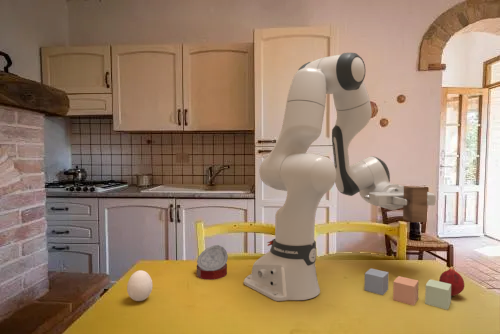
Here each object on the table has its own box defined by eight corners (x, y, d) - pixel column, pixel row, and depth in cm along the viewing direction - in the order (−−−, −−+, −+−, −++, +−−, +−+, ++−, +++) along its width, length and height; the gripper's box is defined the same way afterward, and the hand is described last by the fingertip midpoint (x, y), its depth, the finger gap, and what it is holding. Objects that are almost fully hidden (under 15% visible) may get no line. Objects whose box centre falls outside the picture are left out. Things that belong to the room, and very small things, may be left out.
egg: (138, 308, 79) (137, 277, 79) (122, 302, 82) (121, 272, 82) (157, 298, 84) (157, 269, 84) (141, 292, 88) (141, 265, 87)
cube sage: (425, 304, 81) (425, 285, 81) (429, 297, 85) (429, 279, 85) (447, 310, 78) (448, 290, 78) (450, 302, 82) (451, 284, 82)
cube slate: (364, 290, 89) (364, 273, 89) (370, 284, 93) (370, 268, 93) (382, 295, 86) (383, 277, 86) (388, 289, 90) (388, 272, 90)
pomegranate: (468, 301, 82) (469, 271, 82) (444, 299, 83) (444, 270, 83) (458, 292, 88) (458, 264, 87) (435, 290, 89) (436, 262, 89)
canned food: (227, 286, 103) (239, 263, 100) (201, 292, 96) (213, 267, 93) (211, 262, 111) (221, 240, 107) (186, 266, 104) (196, 242, 101)
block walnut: (402, 219, 95) (403, 186, 95) (416, 218, 96) (417, 186, 95) (412, 222, 91) (413, 187, 90) (426, 221, 91) (427, 187, 91)
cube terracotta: (393, 300, 83) (393, 281, 83) (398, 293, 87) (398, 276, 87) (413, 305, 80) (414, 286, 80) (418, 298, 84) (418, 280, 84)
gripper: (361, 187, 105) (384, 191, 91) (418, 186, 107) (448, 191, 93) (361, 205, 105) (383, 213, 91) (418, 205, 107) (448, 212, 94)
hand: (417, 202), depth 92 cm, fingers closed on block walnut, 4 cm apart
